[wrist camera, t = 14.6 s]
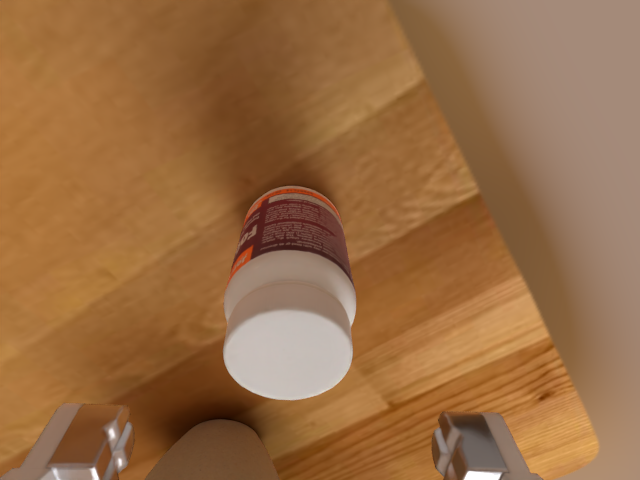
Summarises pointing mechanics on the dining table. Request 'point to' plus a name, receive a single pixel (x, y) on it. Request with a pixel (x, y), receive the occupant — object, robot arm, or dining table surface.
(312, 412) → the dining table surface
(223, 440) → the flower pot
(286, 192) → the pill bottle
